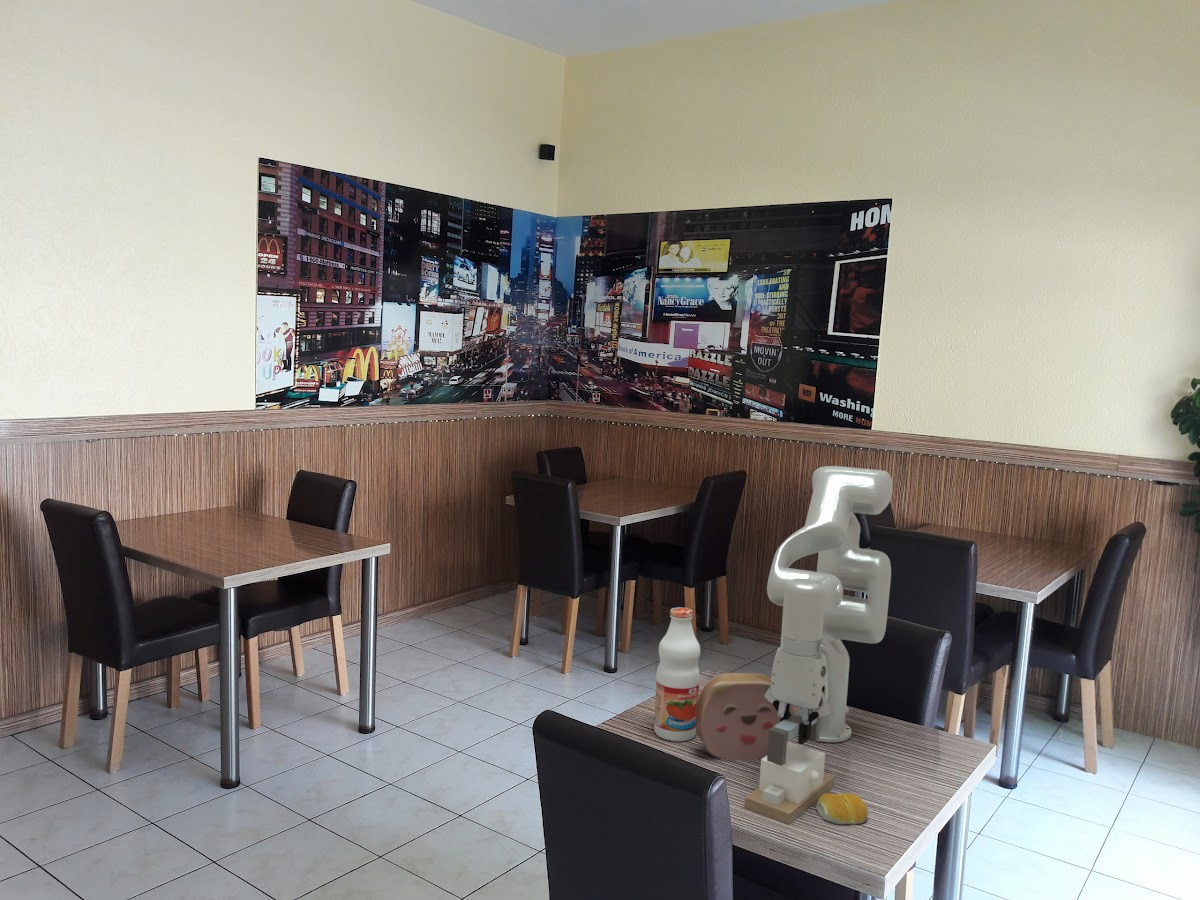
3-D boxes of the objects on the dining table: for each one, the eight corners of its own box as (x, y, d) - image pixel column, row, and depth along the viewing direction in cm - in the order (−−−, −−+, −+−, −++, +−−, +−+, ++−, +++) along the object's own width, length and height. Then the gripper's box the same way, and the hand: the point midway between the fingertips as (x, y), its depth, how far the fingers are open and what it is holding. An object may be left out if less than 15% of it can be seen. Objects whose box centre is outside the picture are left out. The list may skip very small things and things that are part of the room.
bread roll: (874, 825, 169) (876, 804, 168) (828, 828, 167) (829, 806, 166) (854, 803, 177) (856, 783, 176) (810, 805, 175) (811, 785, 175)
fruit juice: (677, 722, 211) (684, 602, 208) (705, 737, 204) (712, 612, 201) (645, 730, 206) (651, 607, 203) (671, 746, 198) (678, 618, 195)
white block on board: (792, 771, 188) (795, 734, 187) (838, 787, 182) (841, 748, 182) (744, 807, 172) (747, 766, 172) (792, 825, 167) (795, 783, 166)
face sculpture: (698, 761, 191) (702, 683, 190) (691, 747, 198) (695, 671, 196) (792, 760, 194) (797, 683, 192) (782, 746, 200) (787, 671, 199)
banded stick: (804, 735, 184) (806, 705, 183) (818, 739, 182) (821, 709, 181) (766, 760, 171) (769, 729, 170) (781, 765, 169) (784, 734, 169)
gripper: (850, 650, 172) (843, 745, 174) (770, 631, 182) (765, 722, 184) (833, 660, 167) (826, 758, 168) (752, 640, 176) (746, 733, 178)
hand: (794, 738), depth 176 cm, fingers closed on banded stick, 3 cm apart
